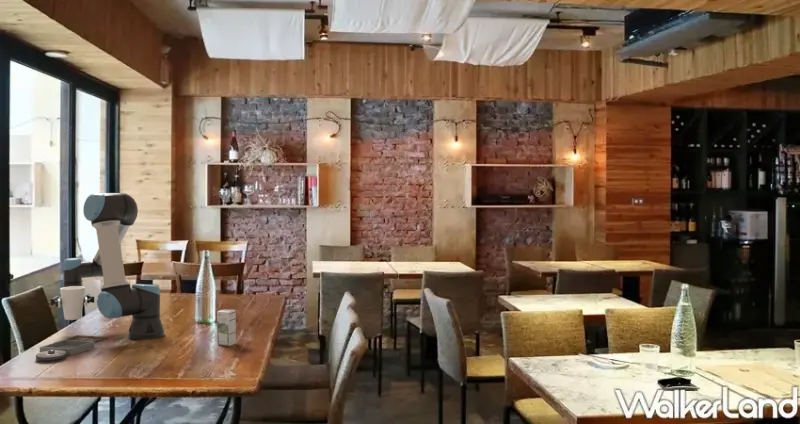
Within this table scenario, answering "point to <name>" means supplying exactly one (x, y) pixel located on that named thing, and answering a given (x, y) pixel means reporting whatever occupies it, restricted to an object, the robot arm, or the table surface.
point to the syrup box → (226, 327)
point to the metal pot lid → (51, 356)
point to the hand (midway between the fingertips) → (72, 303)
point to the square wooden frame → (100, 338)
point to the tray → (69, 346)
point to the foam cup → (72, 301)
